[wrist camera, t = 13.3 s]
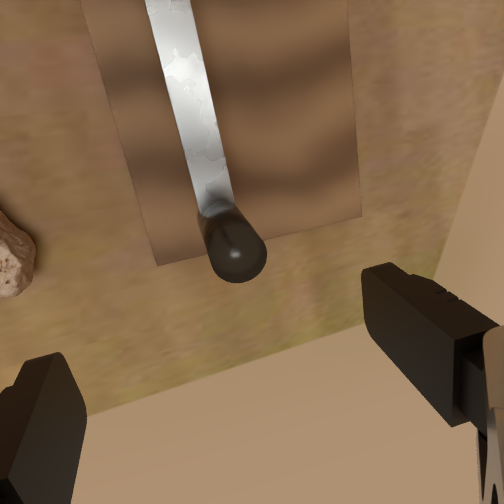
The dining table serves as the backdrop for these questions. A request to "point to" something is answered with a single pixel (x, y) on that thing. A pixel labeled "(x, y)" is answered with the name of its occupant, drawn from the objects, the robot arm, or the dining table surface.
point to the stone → (15, 258)
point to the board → (238, 114)
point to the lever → (203, 144)
